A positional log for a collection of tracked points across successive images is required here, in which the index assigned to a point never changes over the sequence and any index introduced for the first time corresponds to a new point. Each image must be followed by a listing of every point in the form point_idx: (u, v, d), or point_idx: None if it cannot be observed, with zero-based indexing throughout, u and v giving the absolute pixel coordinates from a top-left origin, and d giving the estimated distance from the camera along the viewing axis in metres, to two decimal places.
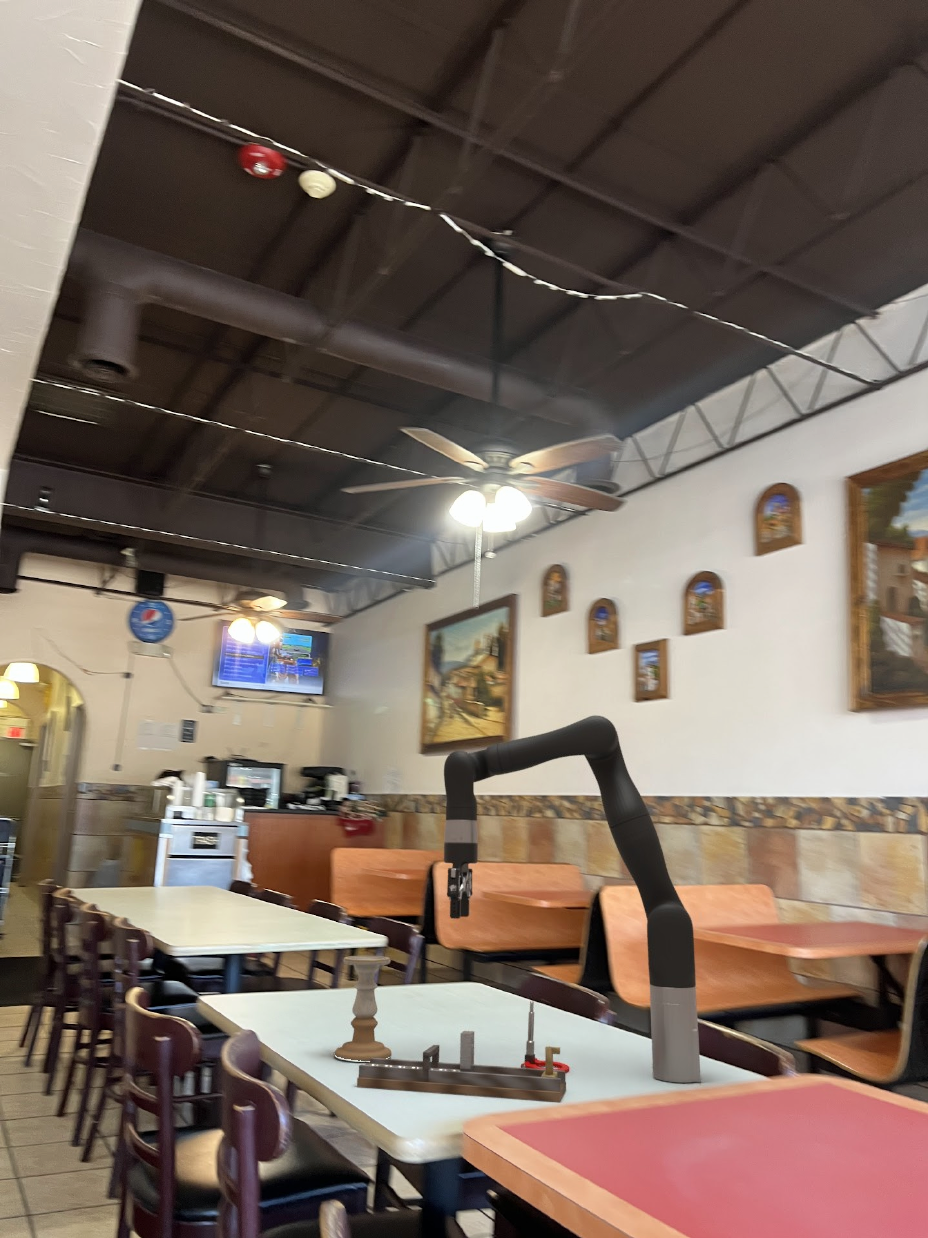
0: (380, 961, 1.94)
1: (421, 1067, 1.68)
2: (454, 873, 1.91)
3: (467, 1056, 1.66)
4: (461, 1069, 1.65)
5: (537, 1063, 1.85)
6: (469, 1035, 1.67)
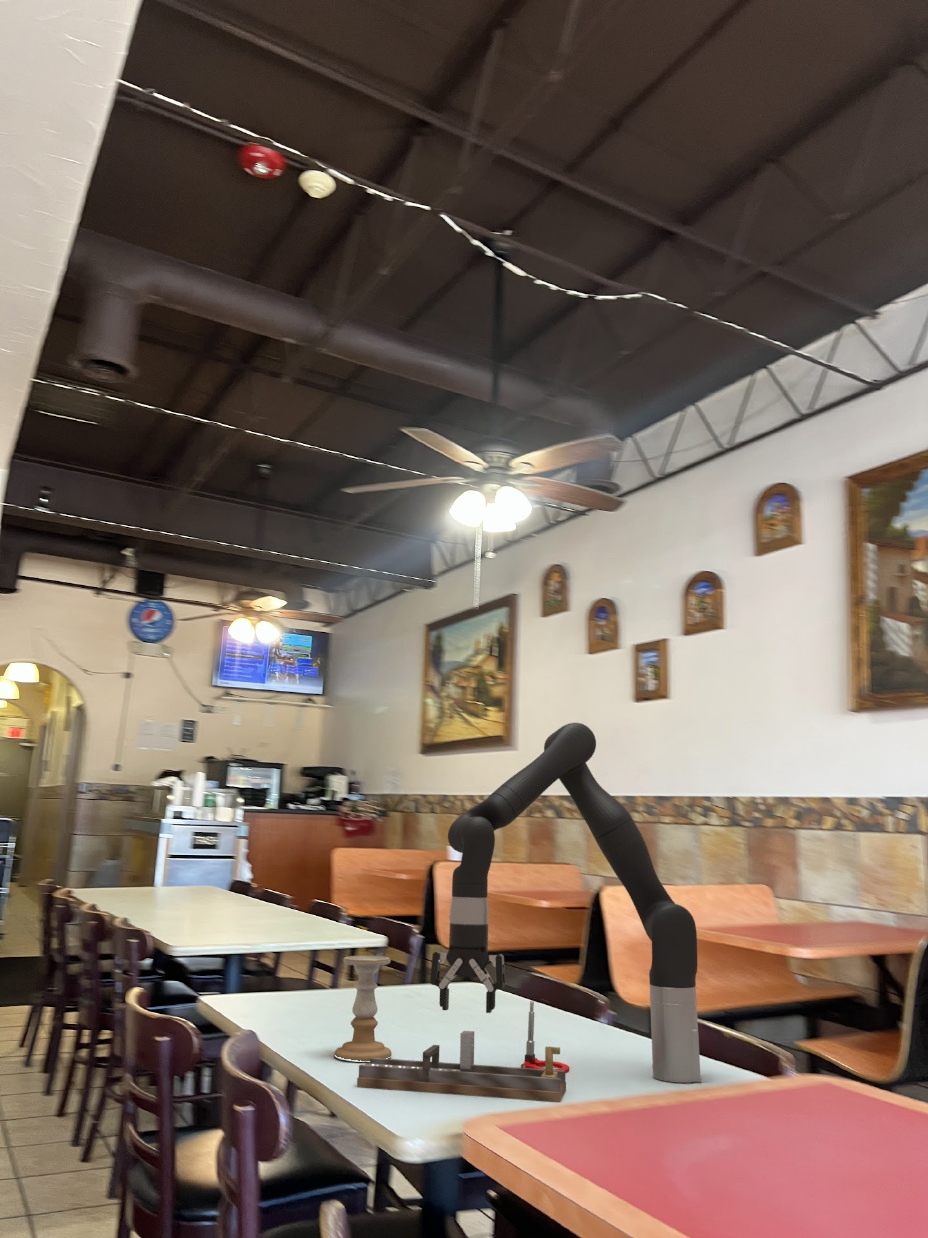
0: (380, 961, 1.94)
1: (421, 1067, 1.68)
2: (503, 960, 1.71)
3: (467, 1056, 1.66)
4: (461, 1069, 1.65)
5: (537, 1063, 1.85)
6: (469, 1035, 1.67)
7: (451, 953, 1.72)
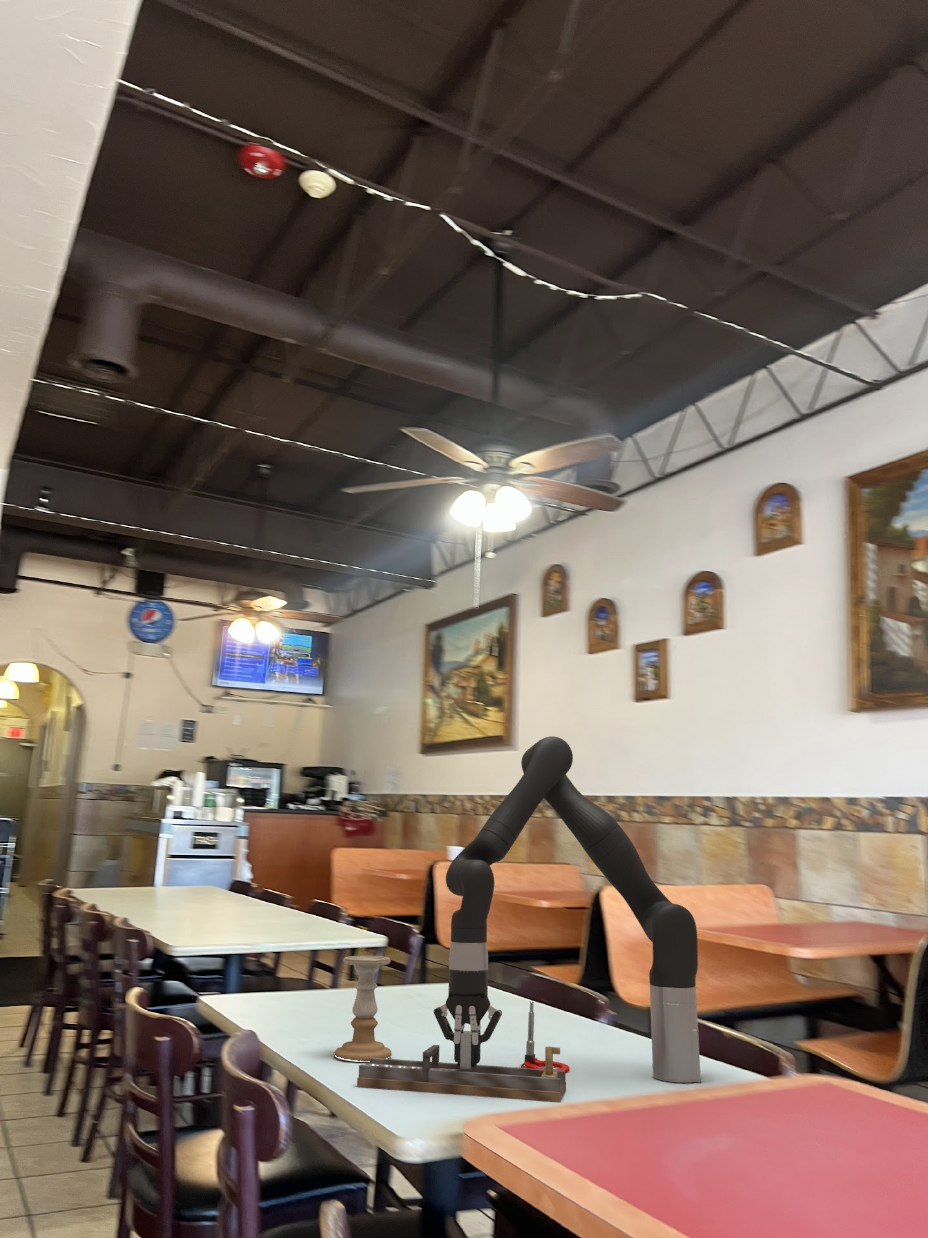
0: (380, 961, 1.94)
1: (421, 1067, 1.68)
2: None
3: (467, 1056, 1.66)
4: (461, 1069, 1.65)
5: (537, 1063, 1.85)
6: (469, 1035, 1.67)
7: (449, 1000, 1.70)
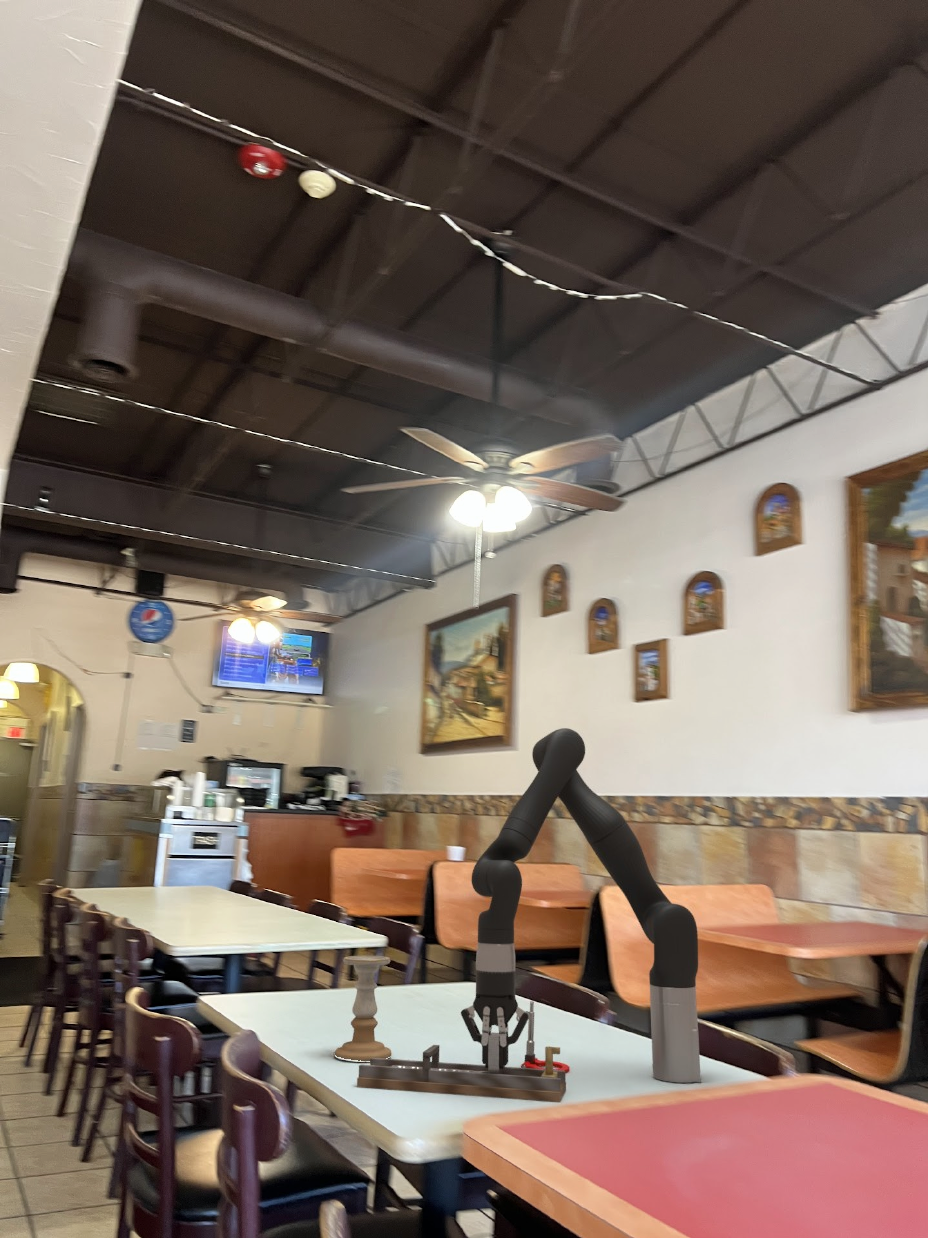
0: (380, 961, 1.94)
1: (448, 1069, 1.67)
2: None
3: (495, 1058, 1.65)
4: (489, 1071, 1.64)
5: (537, 1063, 1.85)
6: (497, 1037, 1.65)
7: (476, 1001, 1.68)
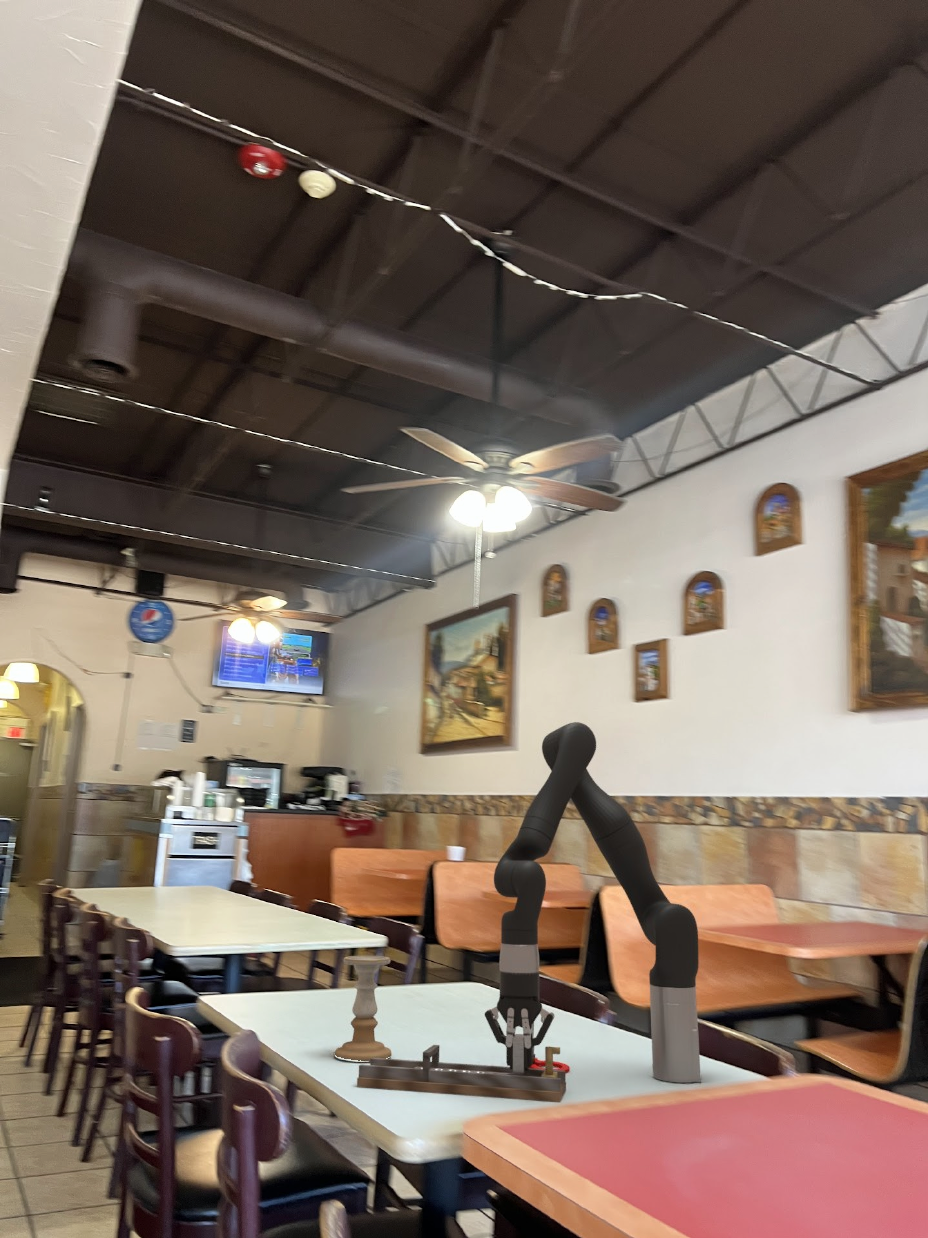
0: (380, 961, 1.94)
1: (472, 1071, 1.66)
2: None
3: (520, 1060, 1.64)
4: (514, 1073, 1.63)
5: (537, 1063, 1.85)
6: (522, 1038, 1.64)
7: (500, 1003, 1.67)
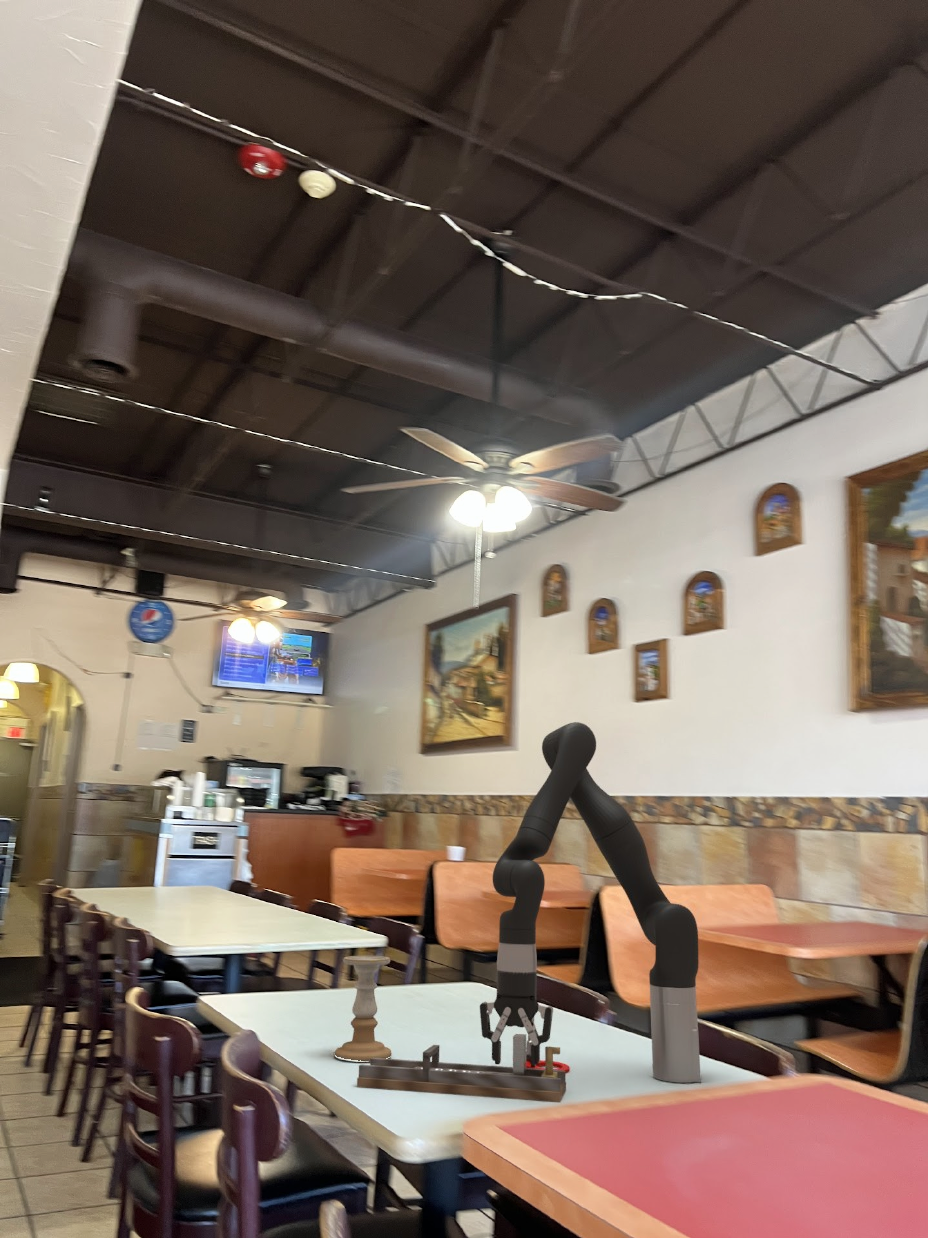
0: (380, 961, 1.94)
1: (473, 1071, 1.66)
2: None
3: (520, 1060, 1.63)
4: (514, 1073, 1.63)
5: None
6: (522, 1038, 1.64)
7: (498, 1001, 1.67)
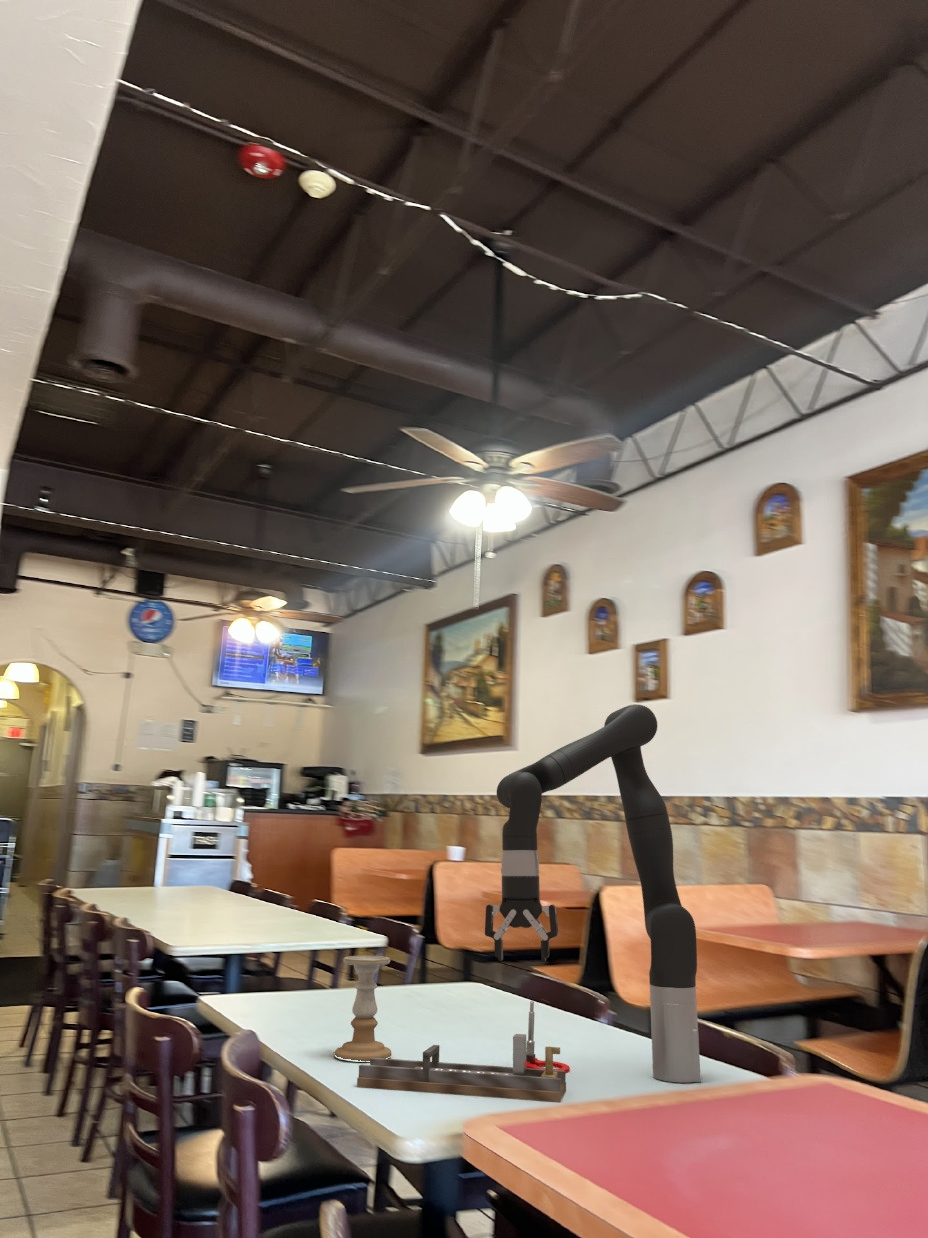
0: (380, 961, 1.94)
1: (473, 1071, 1.66)
2: None
3: (520, 1060, 1.63)
4: (514, 1073, 1.63)
5: (537, 1063, 1.85)
6: (522, 1038, 1.64)
7: (504, 905, 1.76)
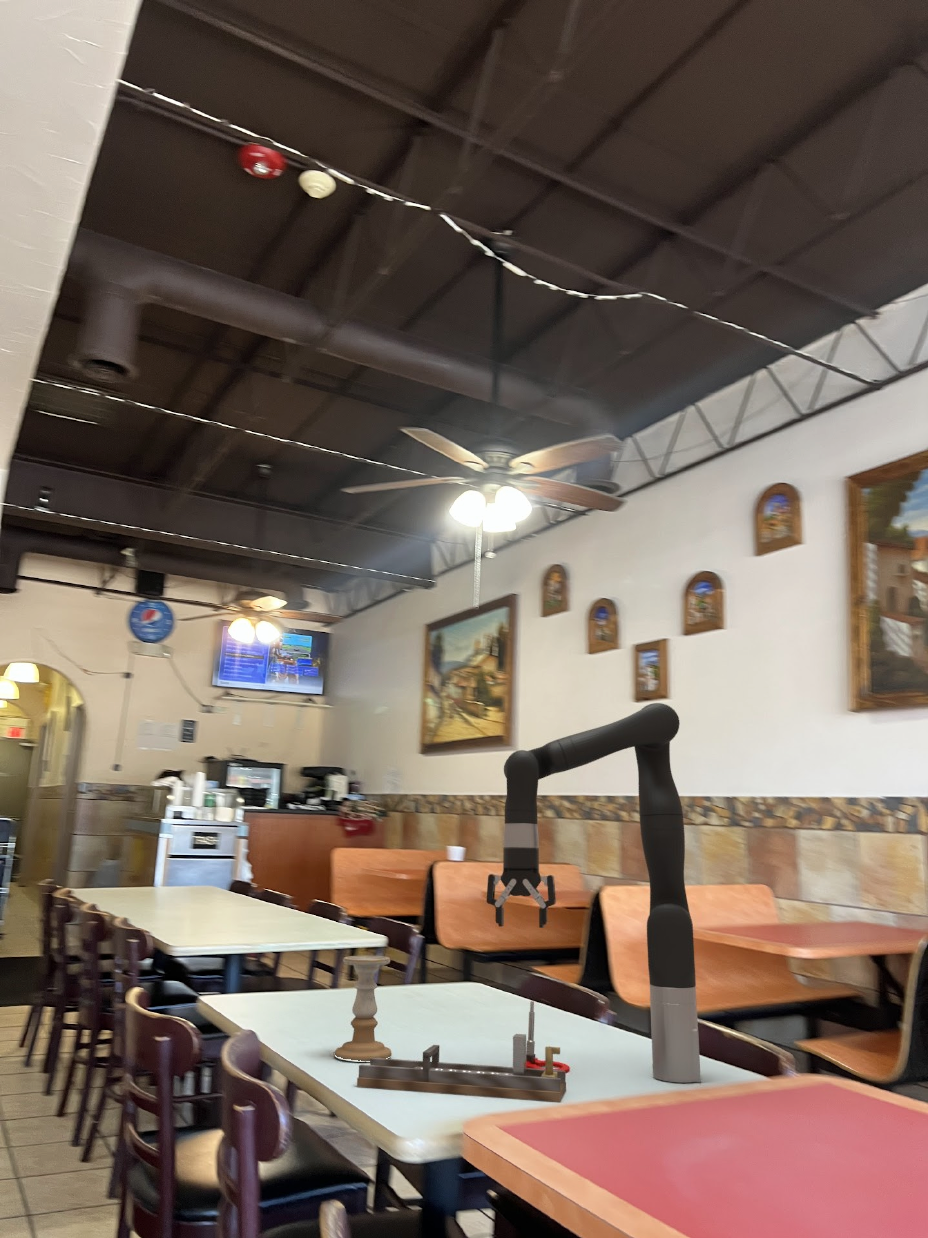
0: (380, 961, 1.94)
1: (473, 1071, 1.66)
2: (553, 880, 1.85)
3: (520, 1060, 1.63)
4: (514, 1073, 1.63)
5: (537, 1063, 1.85)
6: (522, 1038, 1.64)
7: (505, 875, 1.87)
